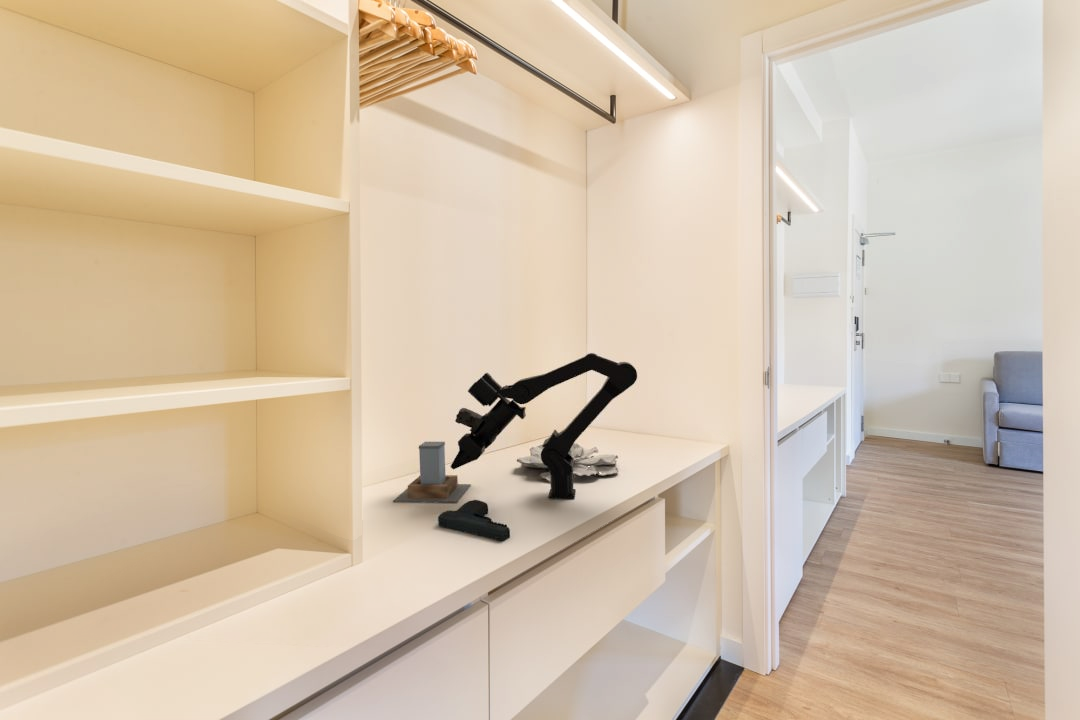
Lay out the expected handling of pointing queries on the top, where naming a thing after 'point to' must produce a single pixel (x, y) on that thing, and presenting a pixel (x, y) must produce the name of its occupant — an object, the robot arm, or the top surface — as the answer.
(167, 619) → the top surface
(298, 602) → the top surface
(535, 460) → the decorative wall flower
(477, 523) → the handgun
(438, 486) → the brown square open frame
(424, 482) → the tin
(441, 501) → the mat
